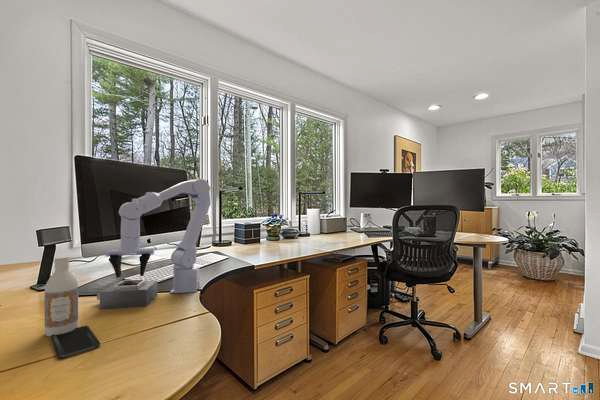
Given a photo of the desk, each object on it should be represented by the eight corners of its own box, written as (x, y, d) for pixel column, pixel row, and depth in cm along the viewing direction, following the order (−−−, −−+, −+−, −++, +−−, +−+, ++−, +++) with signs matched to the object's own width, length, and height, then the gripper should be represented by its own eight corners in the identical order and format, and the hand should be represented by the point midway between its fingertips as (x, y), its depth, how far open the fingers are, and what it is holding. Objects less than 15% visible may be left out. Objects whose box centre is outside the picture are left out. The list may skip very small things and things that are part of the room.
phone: (58, 357, 62) (50, 334, 73) (58, 362, 62) (50, 338, 73) (101, 343, 68) (88, 324, 78) (101, 348, 68) (88, 328, 78)
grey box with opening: (157, 295, 104) (157, 277, 104) (146, 306, 94) (146, 286, 94) (106, 298, 102) (106, 279, 102) (89, 309, 91) (89, 289, 91)
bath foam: (42, 340, 71) (41, 261, 71) (47, 329, 77) (47, 256, 77) (76, 333, 75) (76, 257, 75) (79, 323, 81) (79, 253, 81)
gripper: (156, 234, 104) (156, 271, 104) (111, 236, 100) (111, 274, 100) (151, 237, 97) (151, 277, 97) (102, 238, 93) (102, 280, 93)
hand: (130, 276), depth 98 cm, fingers open, 7 cm apart
